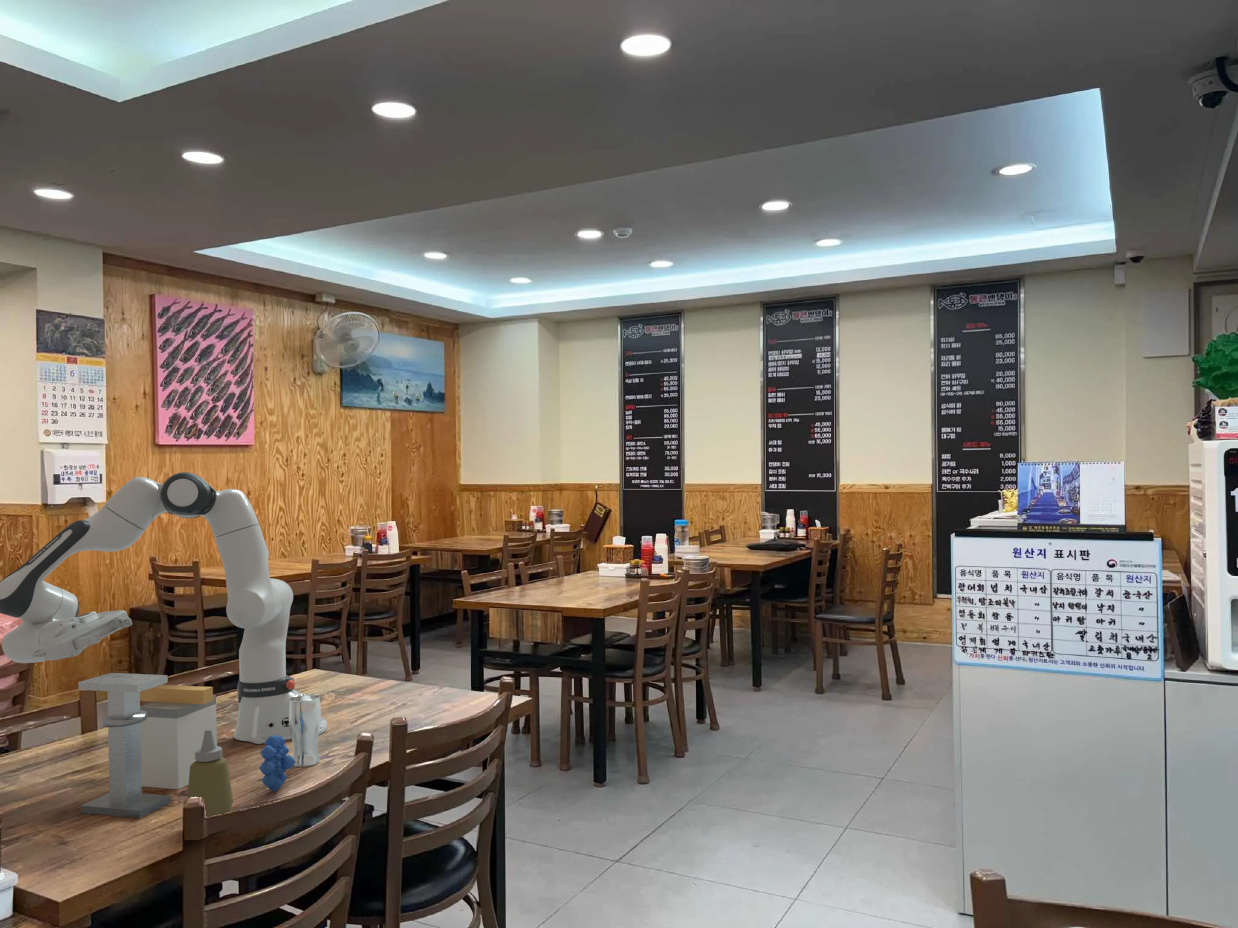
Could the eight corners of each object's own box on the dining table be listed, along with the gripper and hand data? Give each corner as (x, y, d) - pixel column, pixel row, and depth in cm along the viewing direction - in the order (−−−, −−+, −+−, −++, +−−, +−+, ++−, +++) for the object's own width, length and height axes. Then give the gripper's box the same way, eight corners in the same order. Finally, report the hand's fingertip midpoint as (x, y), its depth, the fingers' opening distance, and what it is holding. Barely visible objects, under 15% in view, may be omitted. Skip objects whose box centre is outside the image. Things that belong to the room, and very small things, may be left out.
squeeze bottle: (196, 817, 172) (194, 725, 172) (239, 815, 173) (237, 723, 173) (179, 834, 164) (177, 737, 164) (224, 832, 164) (222, 735, 165)
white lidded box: (139, 785, 190) (137, 706, 190) (180, 767, 202) (178, 692, 202) (178, 789, 188) (177, 709, 188) (217, 770, 199) (216, 694, 199)
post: (81, 812, 176) (78, 681, 176) (113, 797, 183) (110, 672, 183) (139, 818, 172) (137, 684, 172) (170, 802, 180) (167, 675, 180)
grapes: (286, 800, 180) (285, 741, 180) (252, 801, 180) (251, 742, 180) (305, 780, 192) (303, 724, 192) (273, 781, 191) (272, 725, 191)
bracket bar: (127, 700, 196) (126, 686, 196) (137, 696, 199) (137, 683, 199) (203, 704, 191) (203, 690, 191) (213, 700, 194) (212, 686, 194)
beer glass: (311, 768, 199) (310, 701, 199) (283, 767, 200) (282, 700, 200) (327, 758, 206) (326, 694, 206) (300, 757, 207) (299, 693, 207)
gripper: (22, 644, 194) (72, 636, 190) (95, 609, 213) (142, 601, 210) (32, 670, 195) (81, 663, 191) (104, 633, 214) (150, 625, 211)
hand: (113, 630), depth 201 cm, fingers open, 8 cm apart
